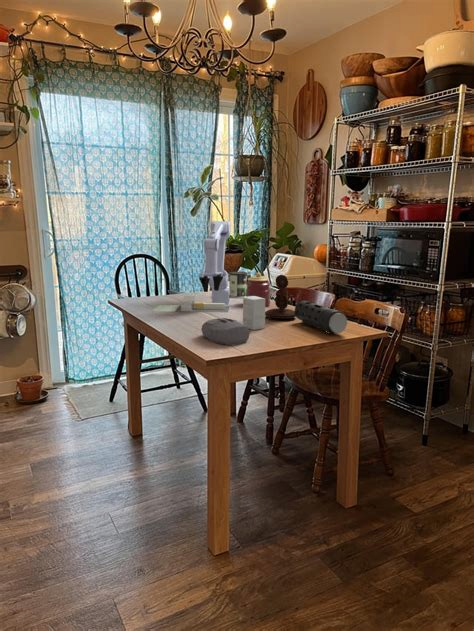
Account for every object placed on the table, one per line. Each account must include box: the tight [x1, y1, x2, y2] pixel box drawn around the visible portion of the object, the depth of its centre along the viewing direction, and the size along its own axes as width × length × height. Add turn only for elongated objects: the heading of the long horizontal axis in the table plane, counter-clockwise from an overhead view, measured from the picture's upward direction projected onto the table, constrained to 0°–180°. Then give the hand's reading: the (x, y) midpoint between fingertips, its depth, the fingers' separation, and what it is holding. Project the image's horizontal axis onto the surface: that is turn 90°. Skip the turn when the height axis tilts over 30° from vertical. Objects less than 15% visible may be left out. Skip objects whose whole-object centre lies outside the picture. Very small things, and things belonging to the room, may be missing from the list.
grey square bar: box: [180, 295, 196, 313], centre depth 245 cm, size 5×15×5 cm, turn 179°
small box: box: [242, 296, 266, 331], centre depth 207 cm, size 8×6×13 cm
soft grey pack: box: [201, 317, 250, 346], centre depth 189 cm, size 15×8×20 cm
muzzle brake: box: [294, 300, 348, 335], centre depth 206 cm, size 10×28×10 cm, turn 23°
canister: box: [246, 272, 271, 308], centre depth 256 cm, size 13×13×18 cm
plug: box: [193, 301, 226, 310], centre depth 245 cm, size 16×3×3 cm, turn 89°
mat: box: [152, 304, 230, 313], centre depth 245 cm, size 37×16×1 cm, turn 89°
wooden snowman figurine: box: [265, 274, 297, 321], centre depth 226 cm, size 15×15×20 cm
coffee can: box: [228, 271, 248, 299], centre depth 283 cm, size 10×10×14 cm
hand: (211, 291), depth 239 cm, fingers open, 7 cm apart
